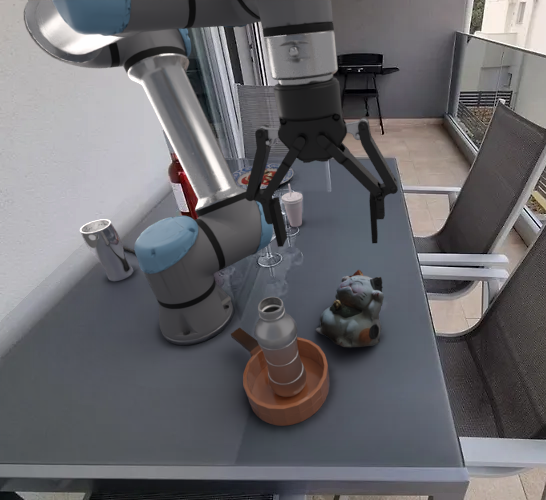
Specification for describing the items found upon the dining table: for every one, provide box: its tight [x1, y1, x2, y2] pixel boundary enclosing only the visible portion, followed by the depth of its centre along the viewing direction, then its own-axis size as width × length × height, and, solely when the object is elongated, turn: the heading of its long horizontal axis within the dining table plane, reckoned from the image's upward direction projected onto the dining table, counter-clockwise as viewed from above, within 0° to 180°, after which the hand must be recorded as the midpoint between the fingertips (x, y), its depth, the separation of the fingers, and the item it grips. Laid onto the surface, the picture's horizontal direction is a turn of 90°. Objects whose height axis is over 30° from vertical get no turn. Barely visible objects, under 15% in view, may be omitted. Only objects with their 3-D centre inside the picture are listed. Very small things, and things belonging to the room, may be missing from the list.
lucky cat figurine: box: [315, 269, 385, 348], centre depth 71 cm, size 15×12×14 cm
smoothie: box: [281, 183, 304, 228], centre depth 107 cm, size 6×6×14 cm
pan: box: [242, 336, 331, 427], centre depth 62 cm, size 14×14×5 cm
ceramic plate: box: [232, 163, 294, 190], centre depth 140 cm, size 26×26×3 cm
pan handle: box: [230, 327, 261, 358], centre depth 67 cm, size 8×3×3 cm, turn 50°
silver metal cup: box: [79, 218, 134, 282], centre depth 89 cm, size 7×7×15 cm
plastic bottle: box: [254, 296, 307, 397], centre depth 57 cm, size 6×7×20 cm
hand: (328, 240), depth 51 cm, fingers open, 13 cm apart
